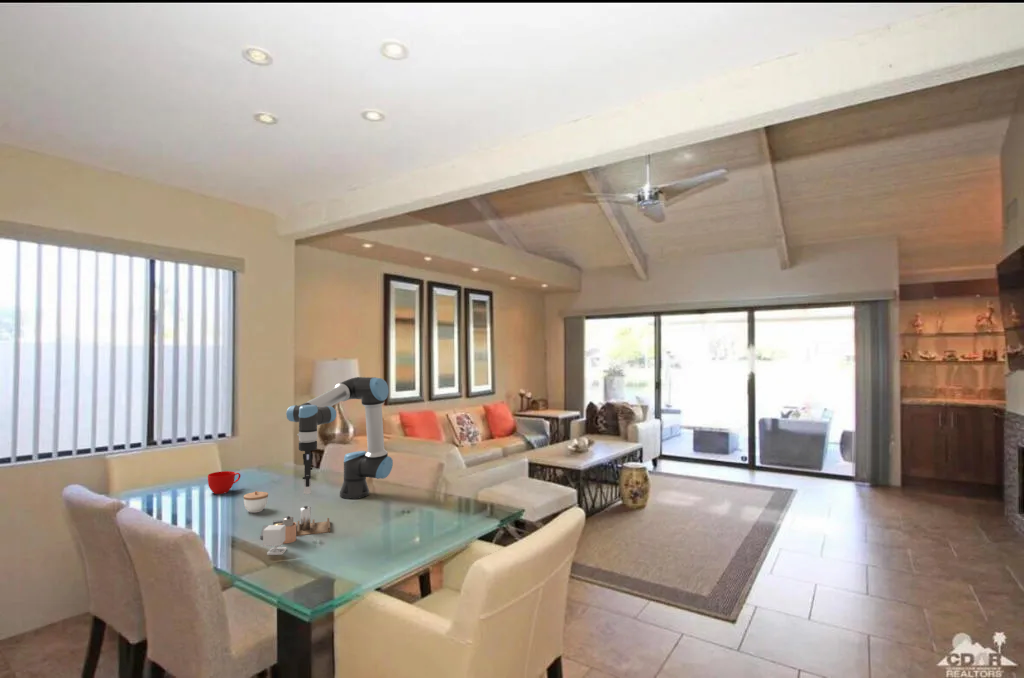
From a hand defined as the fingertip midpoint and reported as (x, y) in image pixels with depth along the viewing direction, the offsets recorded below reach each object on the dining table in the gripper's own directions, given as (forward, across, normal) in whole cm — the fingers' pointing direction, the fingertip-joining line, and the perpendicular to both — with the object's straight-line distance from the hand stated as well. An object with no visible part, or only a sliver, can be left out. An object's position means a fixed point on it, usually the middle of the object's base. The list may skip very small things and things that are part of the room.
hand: (307, 489), depth 226 cm
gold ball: (+18, +1, -11) cm, 21 cm away
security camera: (+17, +24, -11) cm, 31 cm away
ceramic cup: (+18, -78, -42) cm, 91 cm away
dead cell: (+17, +12, -7) cm, 22 cm away
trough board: (+18, +1, +3) cm, 18 cm away
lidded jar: (+18, -36, -23) cm, 47 cm away
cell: (+17, +1, -1) cm, 17 cm away
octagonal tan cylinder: (+17, +12, -7) cm, 22 cm away
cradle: (+17, 0, -11) cm, 21 cm away
